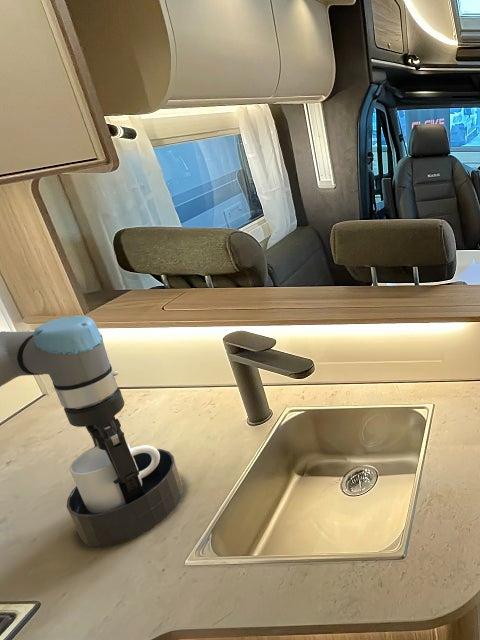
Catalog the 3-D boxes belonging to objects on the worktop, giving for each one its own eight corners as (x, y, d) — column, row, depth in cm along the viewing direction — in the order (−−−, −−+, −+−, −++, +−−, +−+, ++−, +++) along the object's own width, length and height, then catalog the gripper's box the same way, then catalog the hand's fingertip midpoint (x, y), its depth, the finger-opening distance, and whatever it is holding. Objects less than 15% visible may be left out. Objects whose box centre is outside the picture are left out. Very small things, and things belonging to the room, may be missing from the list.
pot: (69, 518, 83) (55, 488, 80) (165, 465, 96) (156, 438, 93) (95, 564, 75) (81, 533, 72) (196, 499, 88) (187, 470, 85)
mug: (162, 462, 90) (149, 424, 87) (170, 484, 85) (156, 445, 82) (85, 497, 82) (68, 457, 79) (89, 524, 77) (70, 482, 73)
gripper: (139, 407, 74) (171, 500, 81) (100, 367, 84) (131, 453, 92) (81, 432, 68) (122, 531, 75) (47, 386, 78) (86, 477, 86)
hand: (127, 488), depth 84 cm, fingers closed on mug, 8 cm apart
